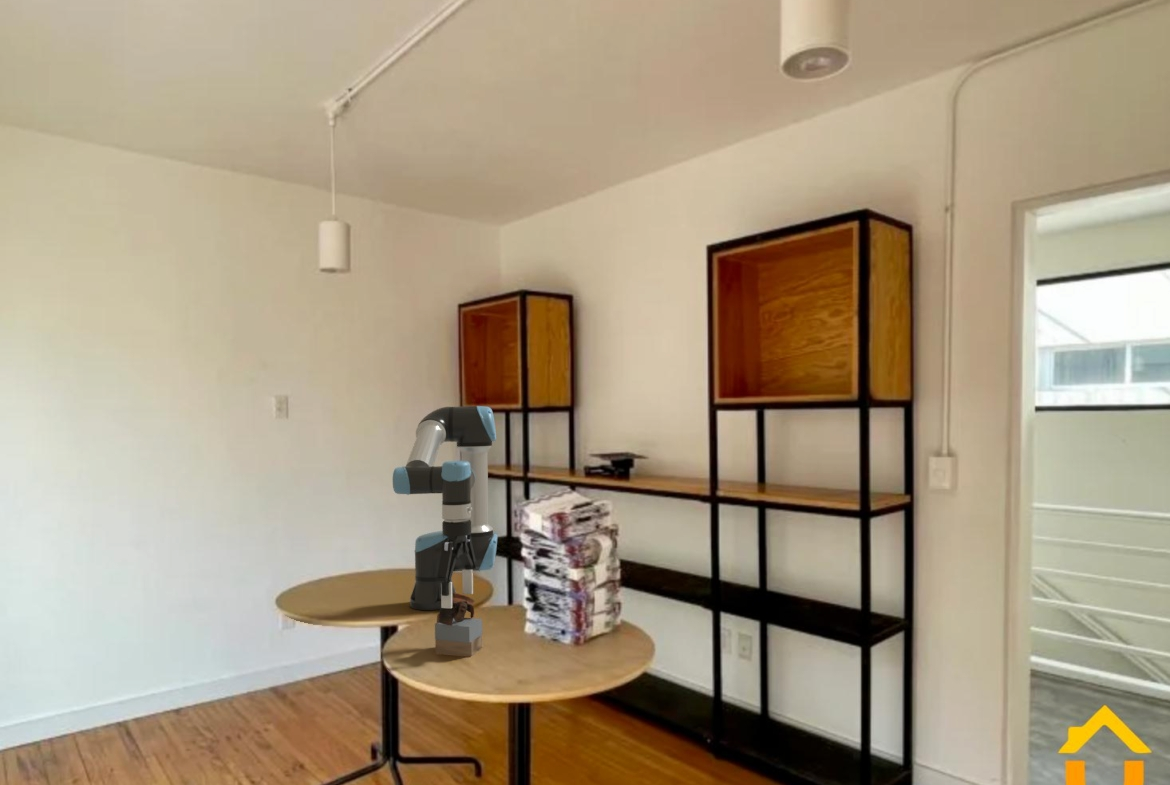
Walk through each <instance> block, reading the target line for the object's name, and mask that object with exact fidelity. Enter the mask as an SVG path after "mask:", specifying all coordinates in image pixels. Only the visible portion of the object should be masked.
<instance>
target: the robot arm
mask: <svg viewBox="0 0 1170 785" xmlns="http://www.w3.org/2000/svg"><path fill="white" fill-rule="evenodd" d="M496 428H497V427H496V422H495V416H494V413H493V410H492V408H491V407H489V406H485V405H483V406H481V405H472V406H471V405H470V406H467V405H466V406H444V407H440V408H437V409H435V410H433V411H431V412H430V413H428V414H427V415H426V416H424V417H423V418H422V419H421V420H420V421H419V422H418V425H417V427H416V430H415V438H416V439H415V441H414V443H413V446H412V449H411V451H410V454H409V456H408V460H407V462H406V464H405V466H398V467H395V468H394V469H393V472H392V489H393V491H394V493H395V494H397V495H407V496H409V495H425V494H427V495H428V494H441V497H442V498H441V499H442V501H441V506H442V507H441V515H442V516H441V518H442V520H443V521H442V524H441V525H442V530H439V531H438V530H437V531H433V532H427V533H424V534H422V535H421V534H420V535H419V536H418V537H417V538H416V539H415V543H414V545H415V547H414V561H415V562H414V563H415V565H414V566H415V567H414V569H415V570H414V573H415V574H414V576H415V579H414V580H415V581H414V585H413V587H412V588H413V589H412V592H411V594H410V597H409V598H410V599H409V606H410V608H412V609H414V610H419V611H434V610H435V611H436V610H440V607H441V608H452V593H457V591H456V589H455V586H454V583H453V579H452V577H453V574H454V573H453V572H462V575H461V576H462V595H473V594H474V575H473V573H474V572H481V571H490V570H492V569H493V568H494V566H495V561H496V554H497V548H498V546H497V545H498V539H499V538H498V534H496V533H494V528H493V527H492V526H491V525H490V524H489V477H488V476H489V473H488V472H489V471H488V467H489V466H488V463H489V462H488V453H489V451H490V450H491V448H492V447H493V442H495V441H497V430H496ZM447 442H451V443H452V442H453V443H454V442H455V443H456V448H457V449H458V451H460V453H461V454H460V455H461V459H460V460H450V461H449V460H448V461H445V462H443V463H442V465H441V466H440V465H439V466H438V465H437V466H435V462H436V459H437V455H438V453H439V452H438V451H439V449H440V446H441V445H443V444H444V443H447Z"/></svg>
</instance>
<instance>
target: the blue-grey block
mask: <svg viewBox="0 0 1170 785" xmlns="http://www.w3.org/2000/svg"><path fill="white" fill-rule="evenodd" d="M481 635H482V636H483V619H482V618H474V617H472V618H471V617H464V619H463V621H462V622H456V621H455V620H454V618H453V621H452V625H451V626H450V625H446V624H442V623H437V622H436V623H434V641H435V640H446V641H456V642H466V643H470V642H472V641H473V640H475V639H476V638H478V637H479V636H481Z"/></svg>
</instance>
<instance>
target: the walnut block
mask: <svg viewBox="0 0 1170 785" xmlns="http://www.w3.org/2000/svg"><path fill="white" fill-rule="evenodd" d="M434 641H435V644H434V645H435V655H442V654H443V655H445V656H456V657H457V656H458V657H471V656H472V657H473V656H474V655H475V654H476V652H477V651H478V652H479V651H480V650H481V649H483V634H482V635H481V636H479V637H478V638H476V639H475V640H473V641H472V642H470V643H466V642H456V641H446V640H435V639H434ZM478 652H477V653H478ZM443 655H442V656H443Z"/></svg>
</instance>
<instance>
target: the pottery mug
mask: <svg viewBox="0 0 1170 785" xmlns="http://www.w3.org/2000/svg"><path fill="white" fill-rule="evenodd" d="M474 602H475V600H474V599H473V598H471V597H469V596H468V595H466V594H463V593H461V594H460V593H457V592H456V593H452V608H441V607H440V609H439V612H438V614H437V615H436V623H442V624H446V625H450V626H451V625H452V621H453V618H454V620H455V621H456V622H462V621H463V619H464V618H465V615H466V613H467V612H469V613H470V617H469V618H474V617H475V607H474V604H475V603H474Z"/></svg>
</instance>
